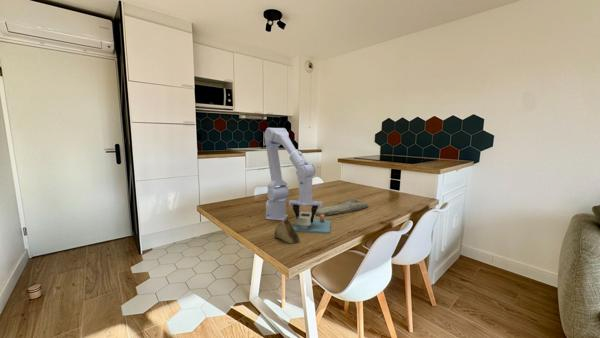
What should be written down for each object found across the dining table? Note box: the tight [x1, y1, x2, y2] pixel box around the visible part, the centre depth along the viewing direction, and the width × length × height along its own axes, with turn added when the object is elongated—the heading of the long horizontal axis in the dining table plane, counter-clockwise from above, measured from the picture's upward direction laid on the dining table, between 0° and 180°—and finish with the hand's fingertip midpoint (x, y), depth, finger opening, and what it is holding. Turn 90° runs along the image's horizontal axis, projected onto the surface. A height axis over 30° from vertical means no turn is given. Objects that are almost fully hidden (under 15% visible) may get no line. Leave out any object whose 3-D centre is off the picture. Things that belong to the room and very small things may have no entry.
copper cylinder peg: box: [319, 214, 325, 223], centre depth 118 cm, size 2×2×3 cm
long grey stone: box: [314, 197, 368, 217], centre depth 138 cm, size 35×5×10 cm
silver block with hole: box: [296, 211, 312, 226], centre depth 112 cm, size 6×9×3 cm, turn 170°
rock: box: [273, 217, 301, 244], centre depth 100 cm, size 11×9×10 cm
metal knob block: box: [300, 225, 309, 230], centre depth 112 cm, size 3×8×5 cm, turn 171°
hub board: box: [293, 219, 332, 235], centre depth 114 cm, size 16×14×1 cm
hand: (305, 221), depth 112 cm, fingers closed on silver block with hole, 6 cm apart
